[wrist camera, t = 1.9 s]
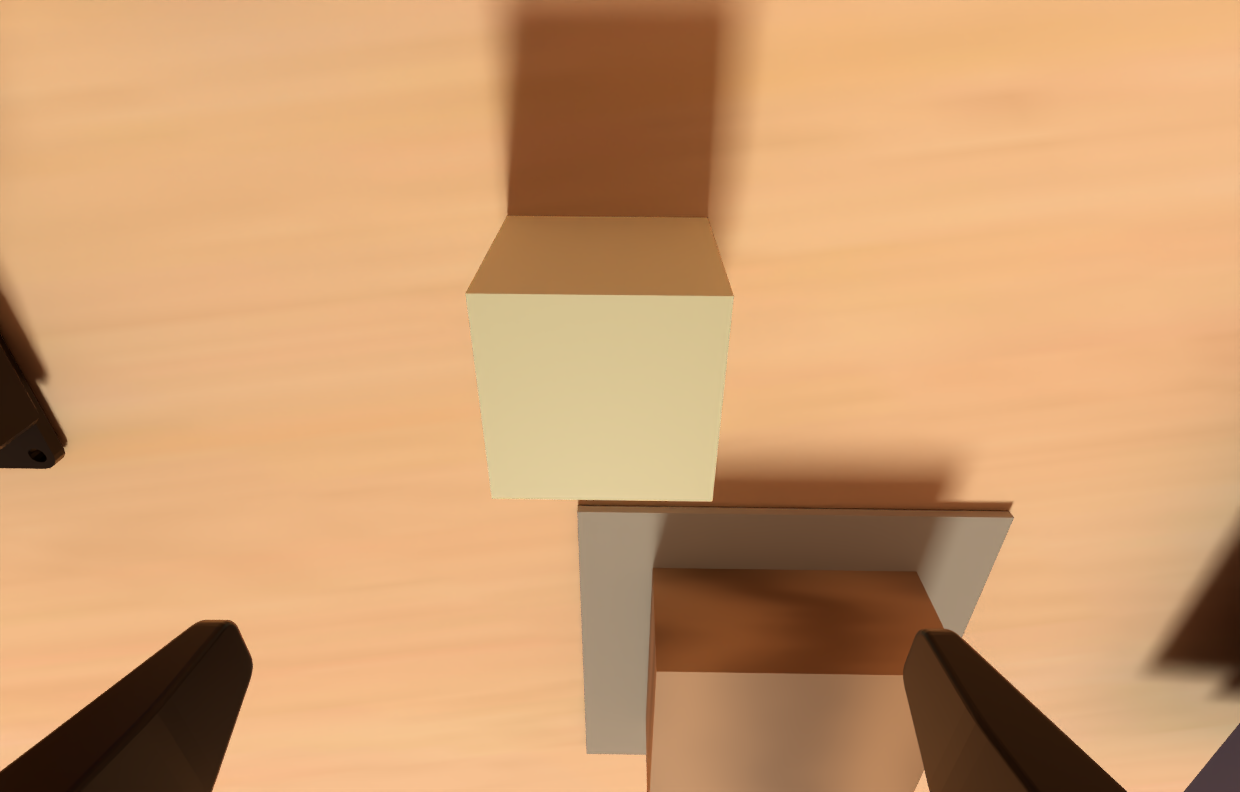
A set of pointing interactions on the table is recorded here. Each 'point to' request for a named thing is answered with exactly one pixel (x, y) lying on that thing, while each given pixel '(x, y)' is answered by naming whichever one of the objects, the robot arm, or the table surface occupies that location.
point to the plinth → (782, 680)
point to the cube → (601, 357)
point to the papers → (1221, 768)
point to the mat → (749, 539)
